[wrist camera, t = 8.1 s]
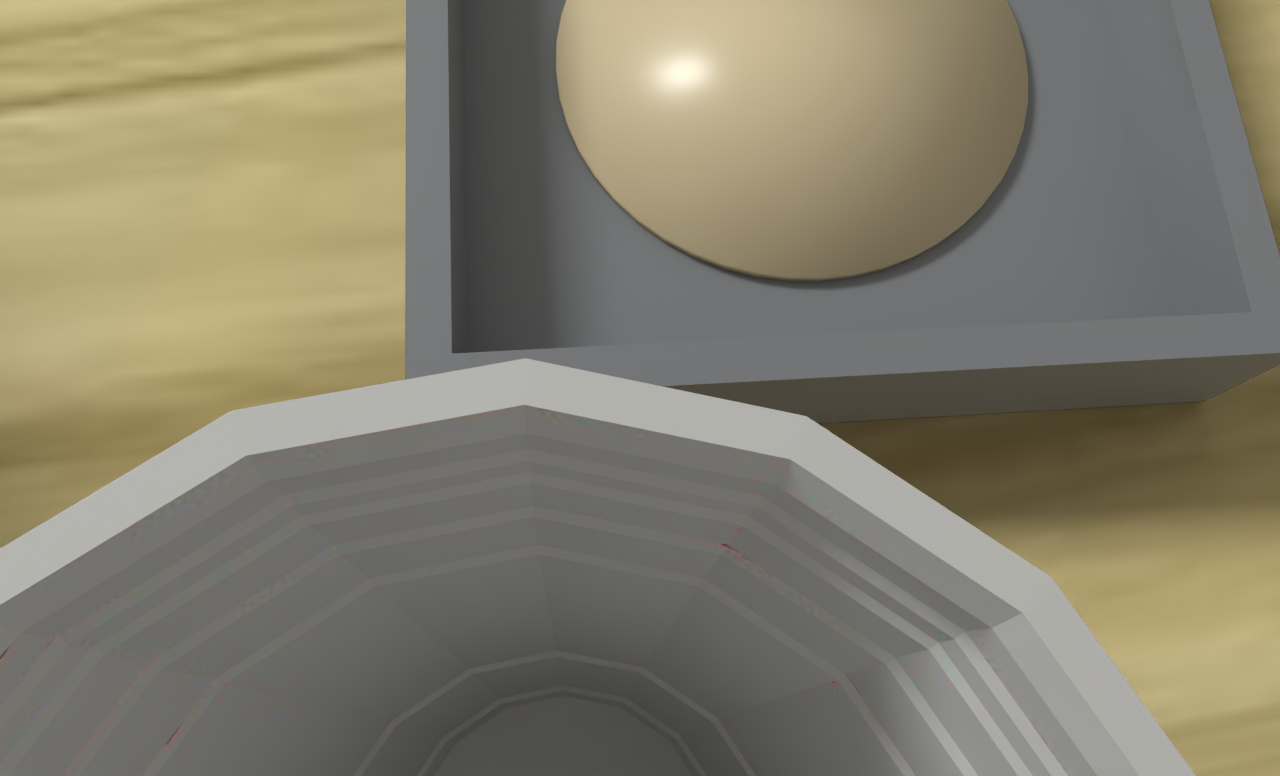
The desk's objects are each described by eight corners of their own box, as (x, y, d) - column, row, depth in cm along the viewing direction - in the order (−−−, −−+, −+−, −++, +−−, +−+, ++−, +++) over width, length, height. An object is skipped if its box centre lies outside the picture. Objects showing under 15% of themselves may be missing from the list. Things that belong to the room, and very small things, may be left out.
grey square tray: (435, 445, 25) (405, 400, 21) (431, -180, 31) (407, -304, 27) (1203, 401, 26) (1306, 351, 22) (1059, -195, 32) (1120, -316, 28)
